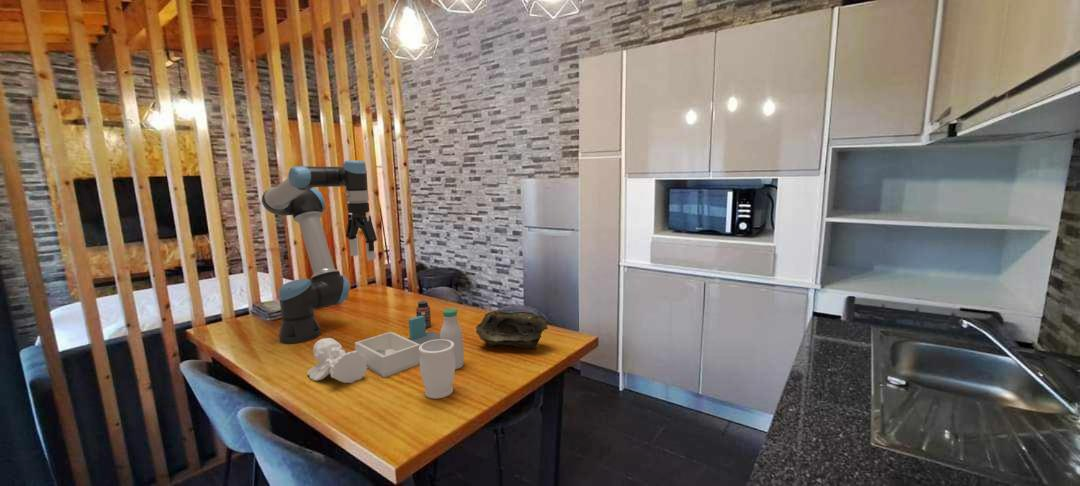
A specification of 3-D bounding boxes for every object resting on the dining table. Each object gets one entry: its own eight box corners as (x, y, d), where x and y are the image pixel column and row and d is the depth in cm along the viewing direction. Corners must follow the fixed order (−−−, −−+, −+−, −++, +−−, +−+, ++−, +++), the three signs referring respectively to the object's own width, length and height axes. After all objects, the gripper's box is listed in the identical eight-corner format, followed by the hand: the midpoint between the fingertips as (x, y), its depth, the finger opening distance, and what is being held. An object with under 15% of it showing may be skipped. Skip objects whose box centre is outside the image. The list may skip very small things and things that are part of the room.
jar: (425, 384, 135) (422, 339, 132) (458, 383, 136) (456, 337, 133) (418, 402, 124) (415, 353, 122) (454, 400, 125) (452, 351, 123)
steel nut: (369, 359, 152) (368, 353, 151) (377, 355, 155) (376, 349, 155) (377, 361, 150) (377, 355, 150) (385, 357, 154) (385, 350, 154)
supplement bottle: (427, 329, 184) (425, 304, 182) (414, 328, 185) (413, 303, 184) (433, 324, 190) (432, 300, 188) (421, 324, 191) (419, 299, 189)
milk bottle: (468, 362, 150) (465, 307, 147) (456, 372, 143) (454, 314, 140) (448, 359, 153) (446, 306, 150) (437, 369, 146) (433, 312, 143)
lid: (398, 346, 167) (396, 321, 166) (431, 335, 178) (430, 312, 177) (429, 360, 153) (427, 334, 152) (462, 348, 164) (461, 323, 163)
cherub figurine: (325, 361, 129) (298, 339, 141) (328, 398, 132) (302, 373, 144) (367, 347, 138) (338, 327, 151) (369, 381, 141) (341, 359, 154)
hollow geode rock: (548, 361, 161) (557, 325, 169) (540, 348, 151) (550, 310, 159) (482, 350, 171) (493, 316, 178) (470, 337, 161) (483, 302, 169)
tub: (356, 361, 153) (354, 342, 152) (392, 349, 164) (390, 331, 162) (384, 377, 140) (382, 357, 139) (421, 363, 150) (420, 344, 149)
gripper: (333, 201, 166) (338, 255, 169) (364, 203, 150) (368, 263, 153) (352, 200, 172) (357, 252, 175) (384, 202, 155) (388, 259, 159)
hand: (362, 257), depth 164 cm, fingers open, 13 cm apart
